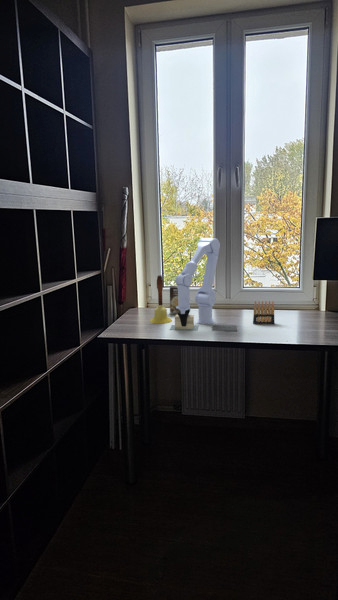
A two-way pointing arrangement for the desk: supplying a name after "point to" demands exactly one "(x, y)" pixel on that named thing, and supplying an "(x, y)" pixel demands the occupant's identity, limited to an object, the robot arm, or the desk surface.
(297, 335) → the desk surface
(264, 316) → the ammunition clip
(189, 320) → the maple block
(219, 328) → the rubber mat
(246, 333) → the desk surface
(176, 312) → the coffee box
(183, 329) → the blue-grey flat slab
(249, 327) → the desk surface
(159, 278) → the handbell
